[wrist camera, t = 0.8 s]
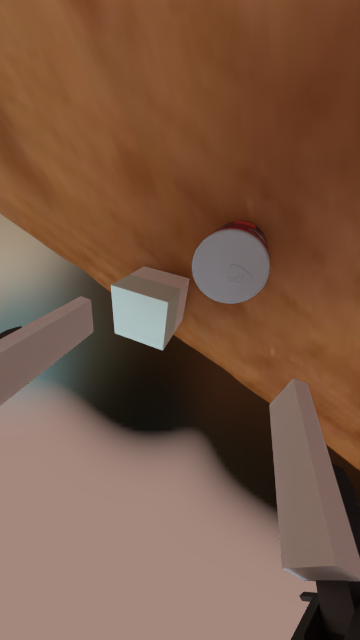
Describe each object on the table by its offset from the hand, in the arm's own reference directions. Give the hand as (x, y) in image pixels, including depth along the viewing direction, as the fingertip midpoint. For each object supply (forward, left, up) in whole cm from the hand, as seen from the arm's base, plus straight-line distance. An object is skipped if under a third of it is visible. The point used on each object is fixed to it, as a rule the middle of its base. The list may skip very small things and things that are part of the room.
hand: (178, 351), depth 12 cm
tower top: (+10, +9, -17) cm, 22 cm away
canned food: (-1, -2, -22) cm, 22 cm away
